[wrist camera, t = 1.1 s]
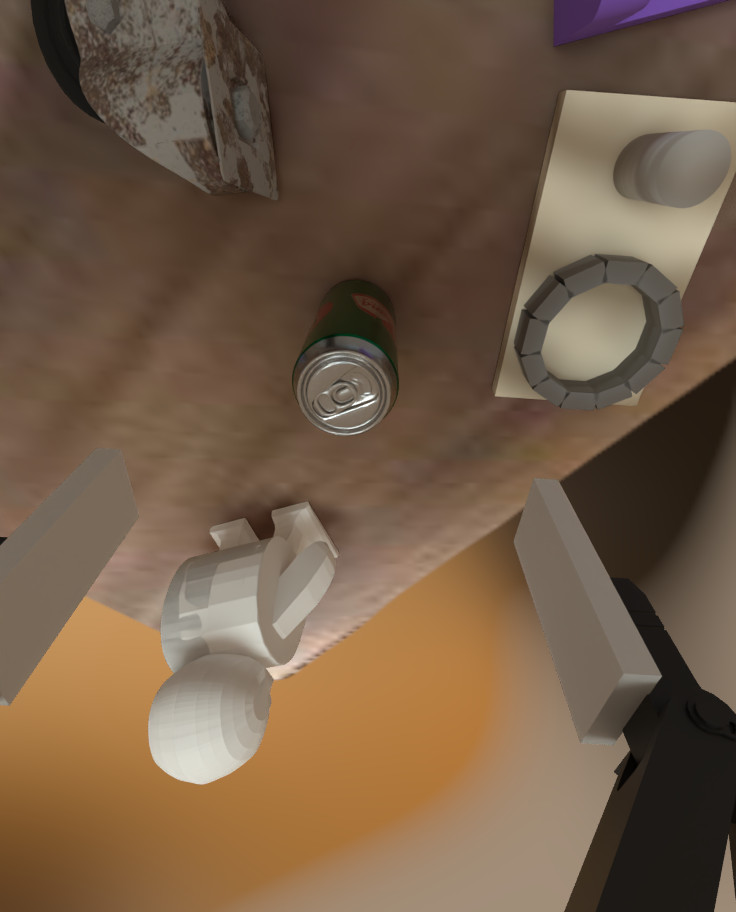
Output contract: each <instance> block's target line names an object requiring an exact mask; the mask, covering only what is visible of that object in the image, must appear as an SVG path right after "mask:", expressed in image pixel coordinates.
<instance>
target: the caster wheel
mask: <svg viewBox="0 0 736 912" xmlns="http://www.w3.org/2000/svg"><path fill="white" fill-rule="evenodd" d="M31 7H32V16H33V24H34V27H35V31H36V35H37V39H38V42H39V46H40V48H41V51H42V53H43V56H44V58H45V61H46V63H47V65H48V67H49V69H50V71H51V73H52V74H53V76H54V78H55V79H56V81H57V83H58V84H59V86H60V87H61V88H62V90H63V91H64V93H65V94H66V95H67V96H68V97H69V98H70V99H71V100H72V102H73V103H74V104H75V105H77V106H78V107H79V108H80V109H82V110H83V111H84V112H86V113H87V114H88V115H90V116H92V117H93V118H95V119H97V120H99V121H101V122H103V123H105V124H107V125H108V126H109V127H110V128H111V129H112V130H113V131H114V132H115V133H117V134H118V135H119V136H120V137H121V138H123V139H124V140H125V141H126V142H128V143H129V144H130V145H132V146H133V147H134V148H136V149H137V150H139V151H140V152H142V153H143V154H145V155H146V156H148V157H149V158H151V159H152V160H154V161H156V162H157V163H159V164H160V165H162V166H164V167H166V168H167V169H169V170H171V171H172V172H174V173H176V174H178V175H179V176H181V177H183V178H184V179H186V180H188V181H189V182H191V183H192V184H194V185H196V186H197V187H199V188H200V189H202V190H203V191H205V192H207V193H209V194H211V195H223V194H233V193H243V192H249V191H252V192H254V193H257V194H260V195H262V196H265V197H268V198H270V199H273V200H276V201H277V200H278V187H277V178H276V168H275V159H274V149H273V140H272V130H271V121H270V111H269V102H268V92H267V83H266V73H265V64H264V60H263V56H262V54H261V53H260V52H259V51H258V50H257V49H256V48H255V47H254V45H253V44H252V43H251V42H250V41H249V40H248V39H247V38H246V37H245V36H244V35H243V34H242V33H241V32H240V31H239V30H238V29H237V27H236V26H235V25H234V24H233V23H232V22H231V21H230V20H229V17H228V15H227V13H226V10H225V8H224V6H223V4H222V1H221V0H31Z"/></svg>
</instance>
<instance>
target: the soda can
mask: <svg viewBox="0 0 736 912" xmlns="http://www.w3.org/2000/svg"><path fill="white" fill-rule="evenodd" d="M292 385H293V391H294V395H295V398H296V400H297V402H298V404H299V406H300V408H301V410H302V412H303V414H304V415H305V417H306V418H307V419H308V420H309V421H310V422H311V423H312V424H313V425H314V426H316V427H317V428H319V429H321V430H322V431H325V432H327V433H330V434H333V435H339V436H353V435H358V434H362V433H364V432H367V431H369V430H370V429H372V428H374V427H375V426H376V425H377V424H378V423H379V422H380V421H381V420H382V419H383V418H384V417H386V415H387V414H388V413H389V412H390V411H391V409H392V407H393V406H394V404H395V401H396V399H397V395H398V390H399V377H398V361H397V344H396V327H395V314H394V309H393V306H392V303H391V301H390V299H389V298H388V296H387V295H386V294H385V293H384V292H383V291H382V290H381V289H380V288H379V287H377V286H376V285H374V284H372V283H369V282H366V281H361V280H350V281H345V282H342V283H340V284H338V285H336V286H335V287H333V288H332V289H331V290H330V291H329V292H328V293H327V294H326V295H325V297H324V298H323V300H322V302H321V305H320V307H319V309H318V312H317V314H316V316H315V319H314V321H313V324H312V326H311V328H310V331H309V333H308V335H307V338H306V340H305V342H304V345H303V347H302V350H301V352H300V354H299V357H298V359H297V361H296V364H295V366H294V370H293V375H292Z"/></svg>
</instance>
